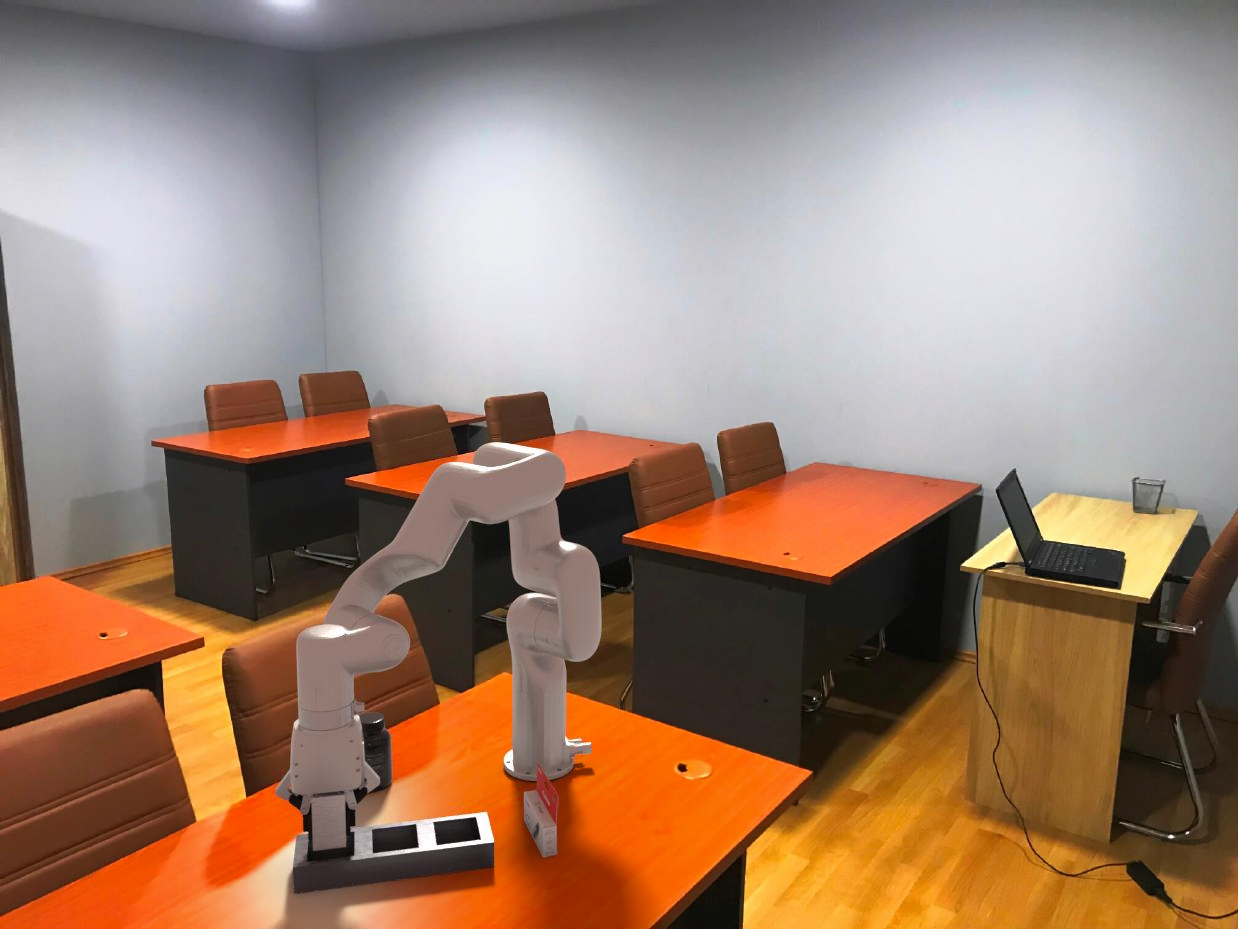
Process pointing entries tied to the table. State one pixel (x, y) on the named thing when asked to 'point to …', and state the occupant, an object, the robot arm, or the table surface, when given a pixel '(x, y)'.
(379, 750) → the supplement bottle
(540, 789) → the ink cartridge box
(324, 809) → the light grey block
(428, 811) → the table surface
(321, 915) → the table surface
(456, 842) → the dark grey compartment tray
